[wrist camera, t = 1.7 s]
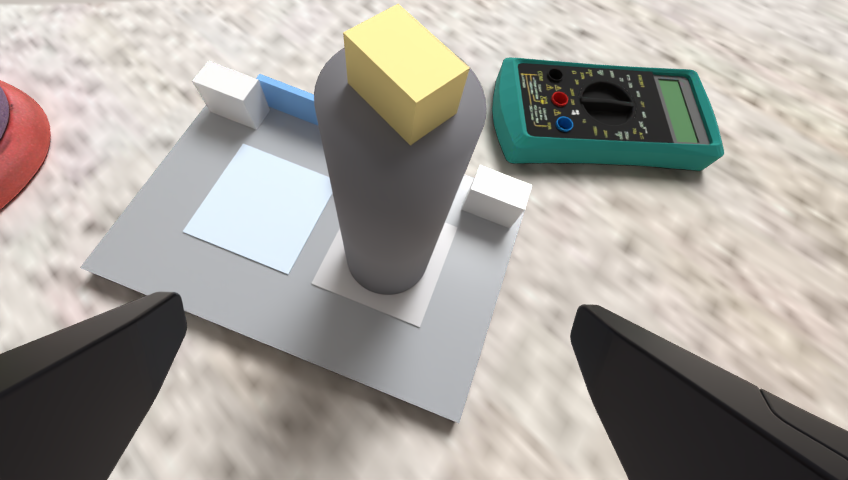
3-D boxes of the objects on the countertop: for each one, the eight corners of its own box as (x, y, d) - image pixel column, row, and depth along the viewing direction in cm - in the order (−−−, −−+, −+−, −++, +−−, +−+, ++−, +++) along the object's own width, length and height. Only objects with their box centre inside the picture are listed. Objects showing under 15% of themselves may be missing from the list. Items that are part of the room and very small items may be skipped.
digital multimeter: (486, 80, 28) (497, 47, 26) (675, 92, 30) (705, 62, 27) (495, 168, 26) (508, 141, 23) (701, 175, 27) (737, 152, 25)
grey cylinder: (445, 259, 21) (543, 67, 9) (383, 312, 20) (397, 171, 7) (392, 203, 22) (414, -43, 10) (329, 250, 21) (261, 32, 8)
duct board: (522, 206, 24) (544, 177, 21) (455, 421, 19) (470, 427, 16) (229, 93, 25) (207, 48, 22) (93, 273, 20) (39, 250, 17)
